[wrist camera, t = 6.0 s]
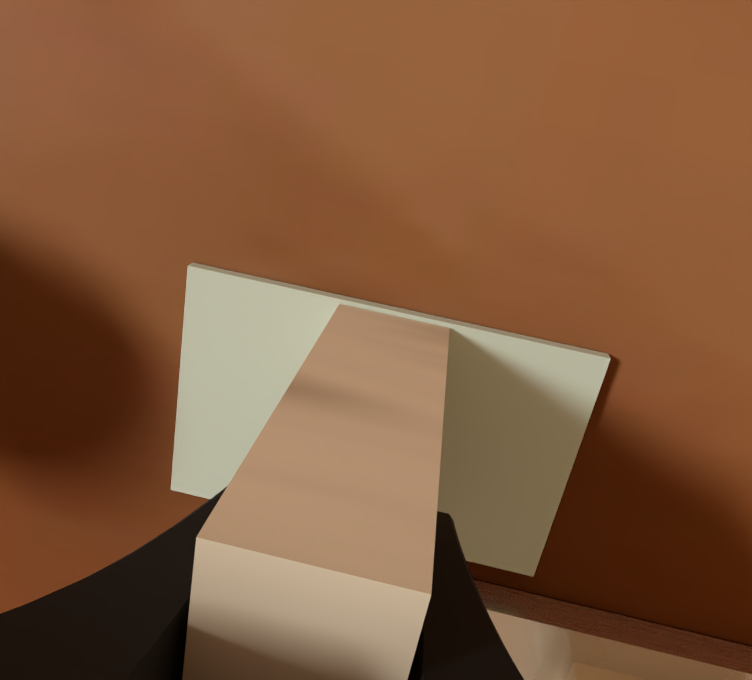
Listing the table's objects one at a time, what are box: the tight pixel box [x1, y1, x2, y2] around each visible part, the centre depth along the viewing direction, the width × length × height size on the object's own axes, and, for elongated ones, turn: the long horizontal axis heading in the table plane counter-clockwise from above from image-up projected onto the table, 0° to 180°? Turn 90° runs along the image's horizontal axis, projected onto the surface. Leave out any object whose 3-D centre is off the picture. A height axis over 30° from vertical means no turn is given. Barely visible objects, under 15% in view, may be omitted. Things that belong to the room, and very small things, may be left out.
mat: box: [171, 263, 611, 577], centre depth 16 cm, size 6×10×1 cm, turn 79°
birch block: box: [182, 304, 450, 680], centre depth 12 cm, size 6×3×8 cm, turn 169°
